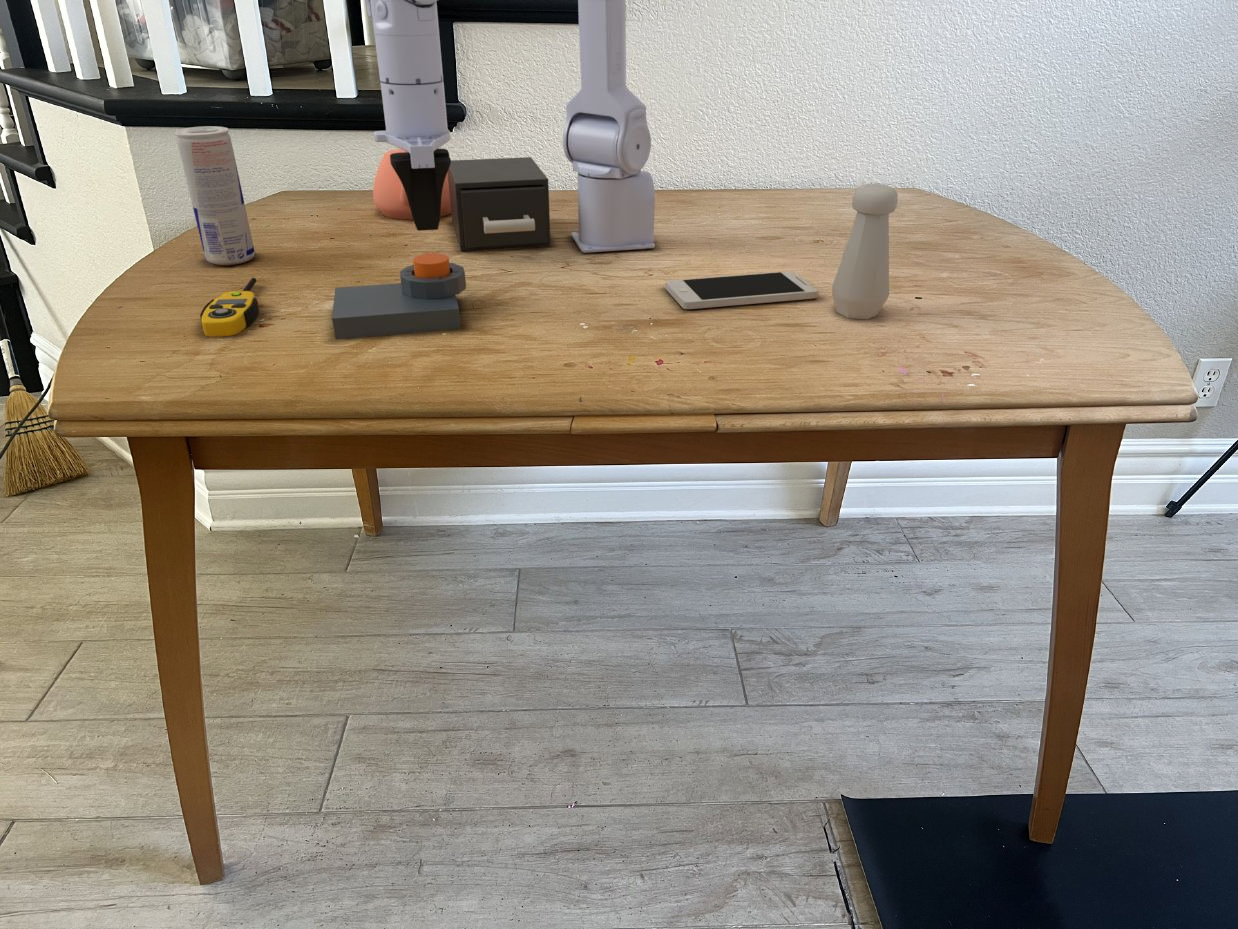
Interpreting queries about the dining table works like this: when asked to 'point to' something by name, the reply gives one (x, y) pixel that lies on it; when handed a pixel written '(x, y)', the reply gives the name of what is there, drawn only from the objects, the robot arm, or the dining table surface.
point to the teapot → (399, 192)
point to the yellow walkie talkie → (230, 312)
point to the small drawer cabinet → (492, 175)
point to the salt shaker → (866, 254)
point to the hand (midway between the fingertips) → (427, 228)
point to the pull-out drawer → (504, 215)
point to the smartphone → (740, 289)
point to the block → (399, 305)
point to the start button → (431, 265)
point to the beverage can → (216, 194)
